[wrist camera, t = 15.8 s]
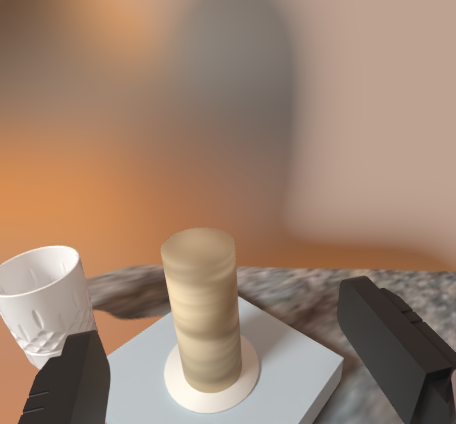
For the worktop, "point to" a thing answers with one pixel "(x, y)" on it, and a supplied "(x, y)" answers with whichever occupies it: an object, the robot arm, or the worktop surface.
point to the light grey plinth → (237, 393)
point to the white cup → (45, 300)
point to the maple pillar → (204, 306)
